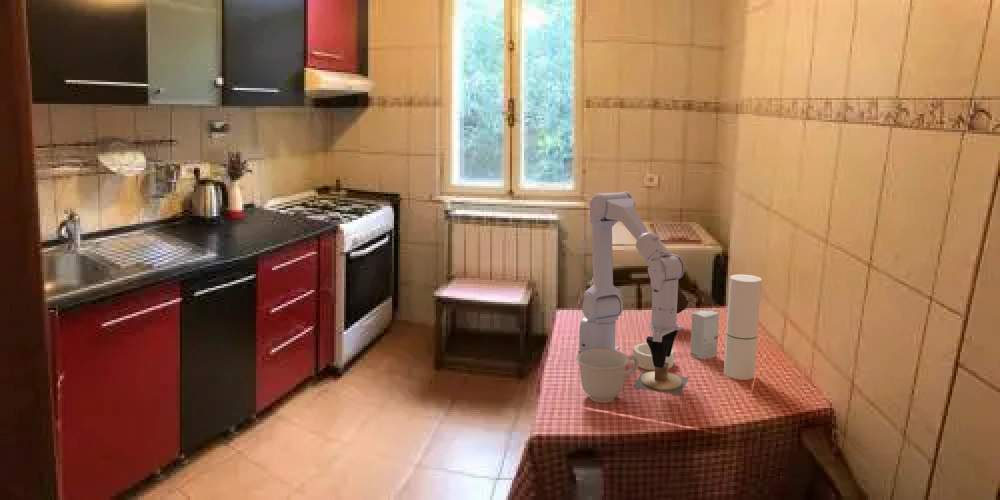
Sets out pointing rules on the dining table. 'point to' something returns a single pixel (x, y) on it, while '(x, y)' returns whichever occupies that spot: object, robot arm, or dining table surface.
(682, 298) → the ice cream bowl
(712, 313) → the skincare box
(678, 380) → the lid
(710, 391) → the dining table surface
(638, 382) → the mat
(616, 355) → the teacup
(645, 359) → the bowl
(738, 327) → the cylindrical container
